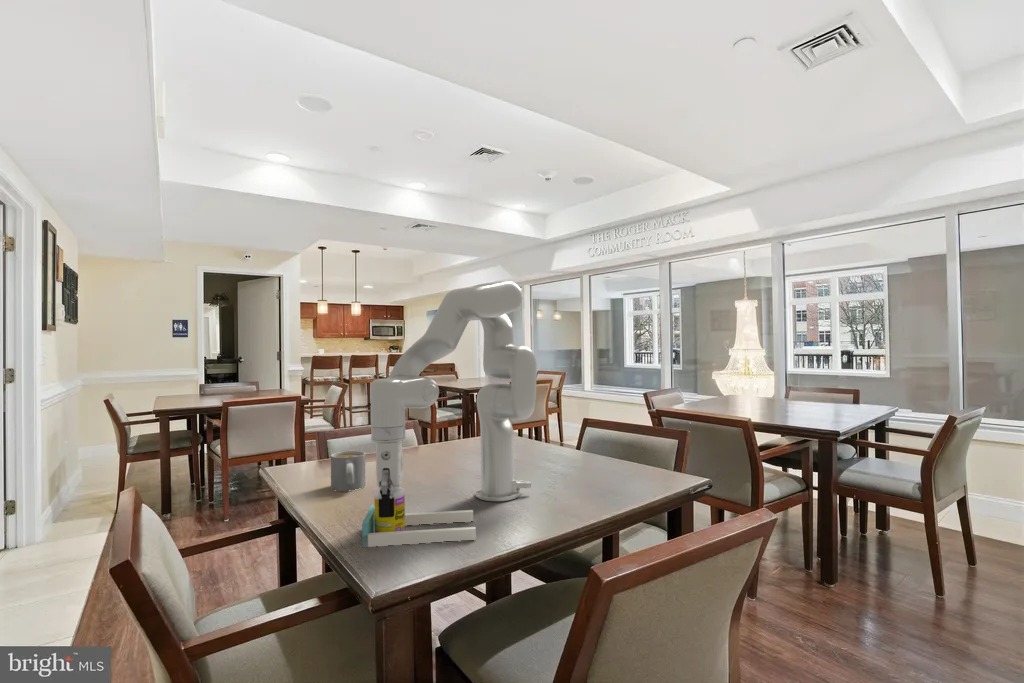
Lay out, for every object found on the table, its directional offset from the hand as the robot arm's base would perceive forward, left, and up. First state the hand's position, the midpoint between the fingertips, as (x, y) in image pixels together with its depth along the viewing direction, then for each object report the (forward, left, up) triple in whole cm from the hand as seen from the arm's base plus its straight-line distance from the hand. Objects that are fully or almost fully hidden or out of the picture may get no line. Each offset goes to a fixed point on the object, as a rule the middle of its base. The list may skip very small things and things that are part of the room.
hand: (389, 509), depth 109 cm
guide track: (-6, 0, -6) cm, 8 cm away
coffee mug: (+17, -39, -6) cm, 43 cm away
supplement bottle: (0, 0, -6) cm, 6 cm away
